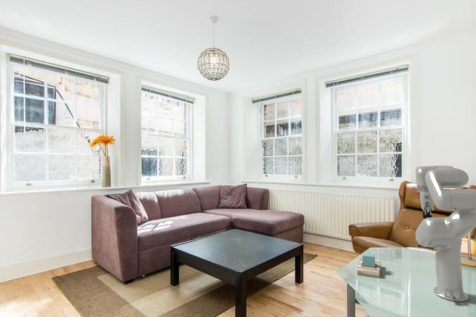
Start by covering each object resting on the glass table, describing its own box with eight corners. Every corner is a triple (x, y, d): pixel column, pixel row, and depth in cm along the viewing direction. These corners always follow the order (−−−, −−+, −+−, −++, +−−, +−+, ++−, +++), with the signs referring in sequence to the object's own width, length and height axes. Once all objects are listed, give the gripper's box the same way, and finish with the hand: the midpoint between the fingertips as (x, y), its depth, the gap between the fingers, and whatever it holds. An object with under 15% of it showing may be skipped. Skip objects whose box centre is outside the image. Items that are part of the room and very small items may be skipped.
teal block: (374, 267, 149) (374, 256, 150) (363, 266, 152) (362, 255, 153) (375, 264, 155) (374, 253, 155) (364, 262, 158) (363, 252, 158)
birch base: (379, 278, 143) (378, 272, 143) (357, 274, 148) (357, 268, 149) (380, 266, 158) (380, 261, 158) (360, 263, 164) (360, 258, 164)
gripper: (435, 190, 134) (438, 224, 133) (431, 187, 149) (433, 217, 148) (418, 190, 138) (420, 223, 137) (415, 187, 153) (417, 217, 152)
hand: (427, 220), depth 143 cm, fingers open, 9 cm apart
